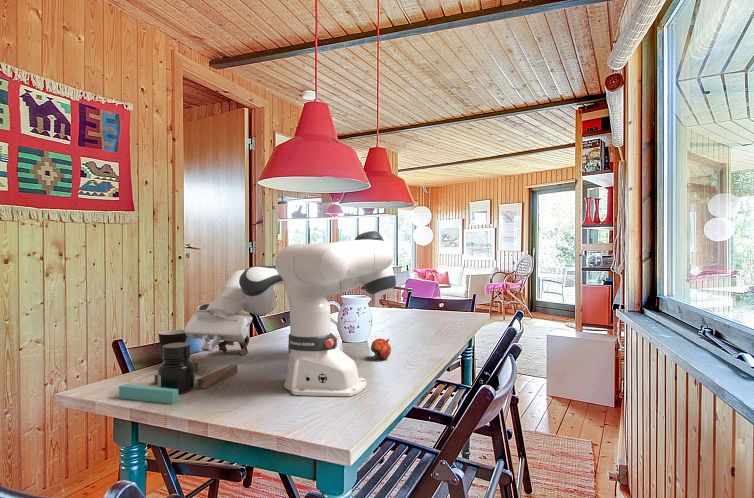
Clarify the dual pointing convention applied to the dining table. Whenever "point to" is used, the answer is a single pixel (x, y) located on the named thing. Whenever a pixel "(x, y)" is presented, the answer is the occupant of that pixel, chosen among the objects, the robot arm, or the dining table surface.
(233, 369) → the lane
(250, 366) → the dining table surface
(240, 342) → the brown animal figurine
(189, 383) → the ink bottle
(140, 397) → the bar
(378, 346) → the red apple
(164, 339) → the coffee mug
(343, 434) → the dining table surface
